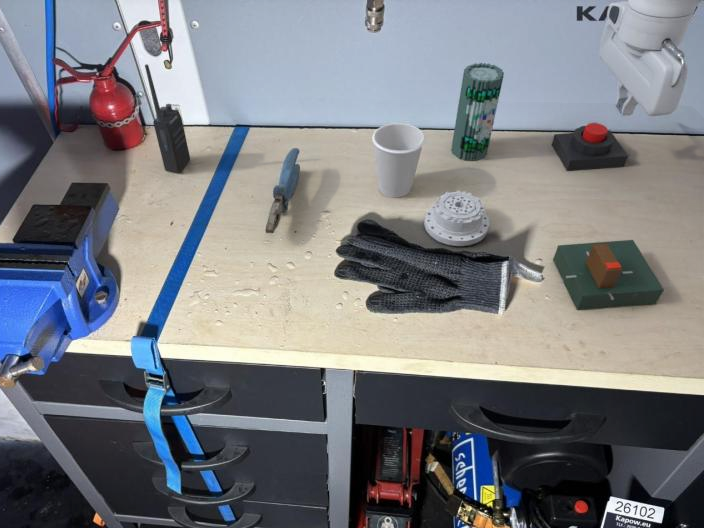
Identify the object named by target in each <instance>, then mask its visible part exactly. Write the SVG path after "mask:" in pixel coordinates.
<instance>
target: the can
mask: <svg viewBox="0 0 704 528" xmlns="http://www.w3.org/2000/svg"><path fill="white" fill-rule="evenodd" d="M504 73H505V72H504V71H503V69H502V68H501V67H499V66H497V65H495V64H491V63H483V62H480V63H477V62H476V63H473V64H470V65H467V66H466V67H465V68H464V69H463V74H462V81H461V86H460V93H459V98H458V106H457V112H456V118H455V124H454V131H453V137H452V141H451V142H452V143H451V149H450V151H451V153H452V155H453V156H455V157H456V158H458V159H459V160H461V159H462V160H463V161H467V162H468V161H470V162H472V161H475V162H476V161H479V160H481V159H484V158H486V156H487V155H488V150H489V146H490V142H491V137H492V133H493V127H494V122H495V117H496V113H497V109H498V103H499V99H500V94H501V90H502V85H503V81H504V80H503V79H504V75H505V74H504Z"/></svg>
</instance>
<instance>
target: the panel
mask: <svg viewBox="0 0 704 528" xmlns="http://www.w3.org/2000/svg"><path fill="white" fill-rule="evenodd" d="M598 244H608V246H609V247H610V249H611V251H612V253H613V254H614V256H615V258H616V260H617V261H618V262H619V264H620V266H621V268H622V271H621V273H620V275H619V277H618V279H617V281H616V283H615V285H614V287H612V288H599V287H598V285H597V283H596V282H595V280H594V278H593V276H592V274H591V272H590V270H589V268H588V266H587V264H586V261H587V258H588V256H589V254H590V251H591V249H592V247H593V245H598ZM552 261H553V263H554V266H555V267H556V270H557V271H558V274H559V275H560V278H561V280H562V282H563V284H564V286H565V288H566V291H567V293H568V295H569V297H570V299H571V301H572V303H573V305H574V307H575V309H576V310H577V311H583V310H597V309H609V308H622V307H623V308H624V307H637V306H648V305H649V306H650V305H651V306H652V305H656V304H657V303H658V301H659V299H660V298H661V296H662V295H663V292H664V291H665V288H664V286H662V284H661V282H660V281H659V278H658V277H657V275H656V274H655V272H654V271H653V270H652V268H651V266H650V265H649V263H648V261H647V260H646V258H645V256H644V254H643V253H642V252H641V250H640V249H639V247H638V245H637V243H636V241H635V240H634V239H625V240H612V241H598V242H585V243H583V242H582V243H572V244H571V243H570V244H558V245H557V247H556V250H555V252H554V256H553V258H552Z"/></svg>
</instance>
